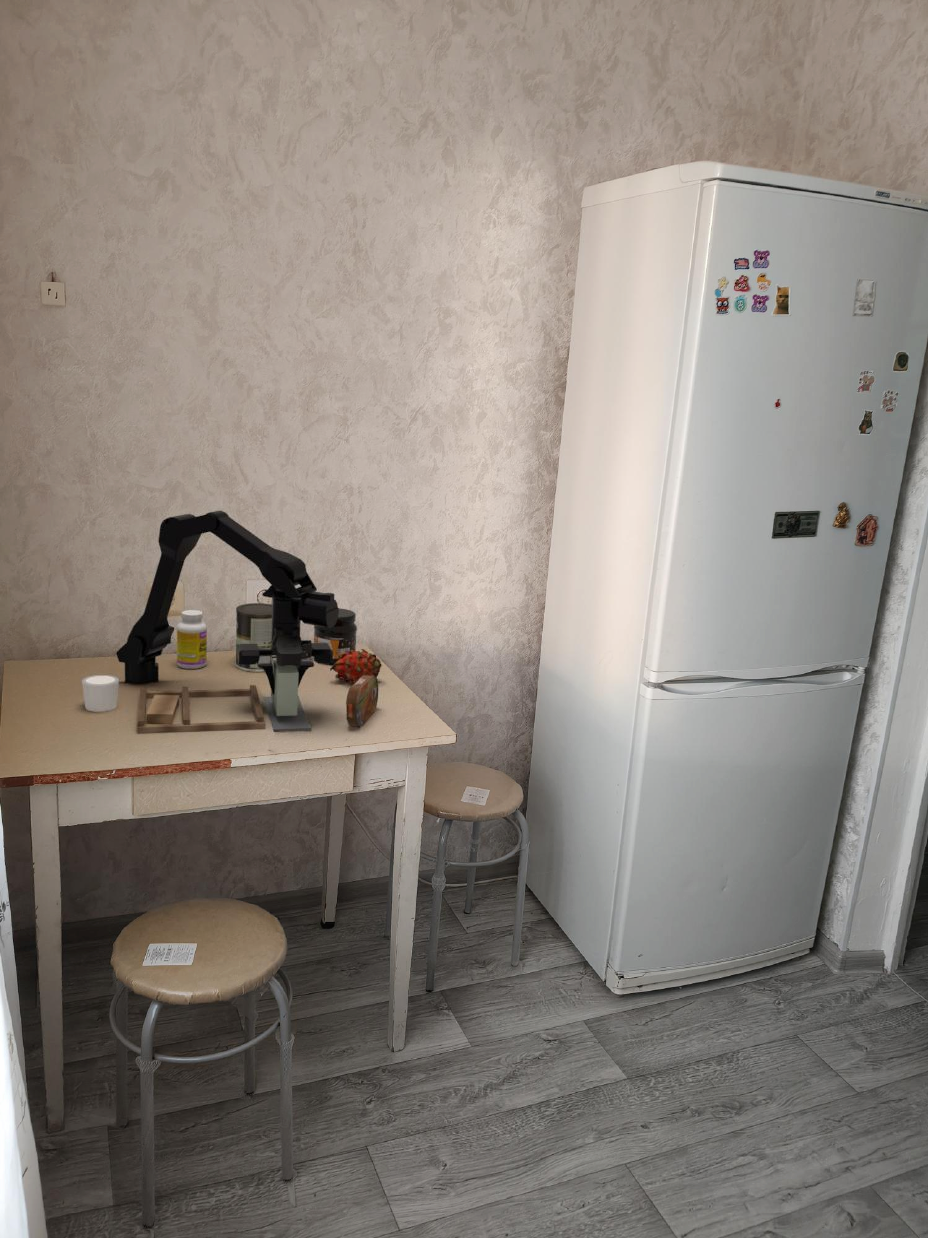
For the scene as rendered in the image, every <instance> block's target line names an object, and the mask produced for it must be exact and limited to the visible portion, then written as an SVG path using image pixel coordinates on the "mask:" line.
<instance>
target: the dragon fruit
mask: <svg viewBox="0 0 928 1238" xmlns="http://www.w3.org/2000/svg"><path fill="white" fill-rule="evenodd" d="M360 650H361V651H360ZM360 650H357V651H355V650H350V651H349V653H345V654H342V656H341V658H340V659H339V660H338V661H337V662H336V663H335V664H334V665H331V667H330V669H329V671H330V672H331V671H332V670H333V671H334V672H336V674H335V679H337V680H339V681H341V682H346V683H352V682H353V684H354V683H355V682H356V681H357V680H358V679H359V678H360V677H361V676H364V675H368V676H373V675H374V676H376V678H378V676H379V674H380V671H381V667H382V666H383V664H382V662H381V660H380V659H379V657H377V655H376V654H375V653H371V652H368V651H367V650H365V649H364V648H361V649H360Z"/></svg>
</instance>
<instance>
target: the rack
mask: <svg viewBox="0 0 928 1238" xmlns="http://www.w3.org/2000/svg"><path fill="white" fill-rule="evenodd" d="M258 692H259V691H258V689H257V685H255V684H252V685H251V684H250V685H249V688H233V689H230V688H226V689H225V688H224V689H190V690H189V686H181V689H179V690H148V689H147V687H140V690H139V701H138V711H137V712H138V713H137V734H139V735H140V734H162V733H163V734H164V733H166V734H167V733H190V732H193V733H194V732H217V731H218V732H219V731H222V732H223V731H245V730H265V729H266V721H265V716H264V712H263V707H262V704H261V700H260V697H259V693H258ZM154 695H179V699H181V703H182V704H181V705H182V706H181V707H182V723H174V724H161V725H147V724H146V717H147V699H149V700H151V699H152V700H153V698H154ZM221 697H223V698H225V697H226V698H227V697H228V698H229V697H249V699H250V701H251V706H252V709H253V710H252V711H253V714H254V719H255V720H254V721H252V720H251V721H227V722H225V721H224V722H221V721H220V722H198V723H197V722H196V723H193V722H192V723H191V715H190V699H191V698H221Z"/></svg>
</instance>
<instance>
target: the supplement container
mask: <svg viewBox="0 0 928 1238" xmlns="http://www.w3.org/2000/svg"><path fill="white" fill-rule="evenodd" d="M338 608H339V607H338ZM356 616H357V614H356V613H355V611H353V610H351V609H346V608H339V614H338V619H337V622H336V624H335V625H334V626H333V627H332V628H327V627H321V626H315V625H313V631H314V632H313V643H327V644H328V645H329V646H330V647H331V649H332V651H333V663H325V664H326V665H331V666H333V665H334V664H335V663H336V662H337V661H338V660H339V659H340V658H341V656H342V654H345V653H349V651H350V650H355V651H356V649H357V648H356V646H357V631H358V626H357V624H356V623H355V622H356V620H357V619H356Z"/></svg>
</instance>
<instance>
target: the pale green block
mask: <svg viewBox="0 0 928 1238" xmlns="http://www.w3.org/2000/svg"><path fill="white" fill-rule="evenodd" d="M272 665H273V675H274V685H275V693H274V694H272V691H271V690H270V697H271V698H272V701H273V704H274V708H275V711H276V714H277V716H292V715H297V705H298V696H299V687H298V676H299V672H298V670H297V668H296V666H294V665H285V666H279V665H277V662H276V658H272Z"/></svg>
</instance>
